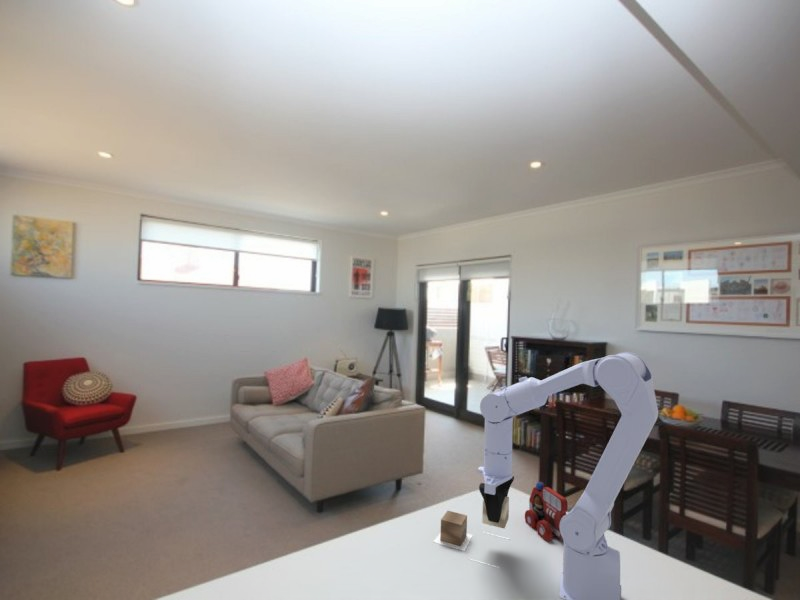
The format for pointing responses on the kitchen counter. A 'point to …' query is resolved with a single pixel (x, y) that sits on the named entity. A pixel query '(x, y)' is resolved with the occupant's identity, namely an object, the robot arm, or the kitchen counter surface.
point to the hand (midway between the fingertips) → (496, 515)
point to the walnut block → (453, 528)
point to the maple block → (503, 517)
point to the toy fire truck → (546, 511)
